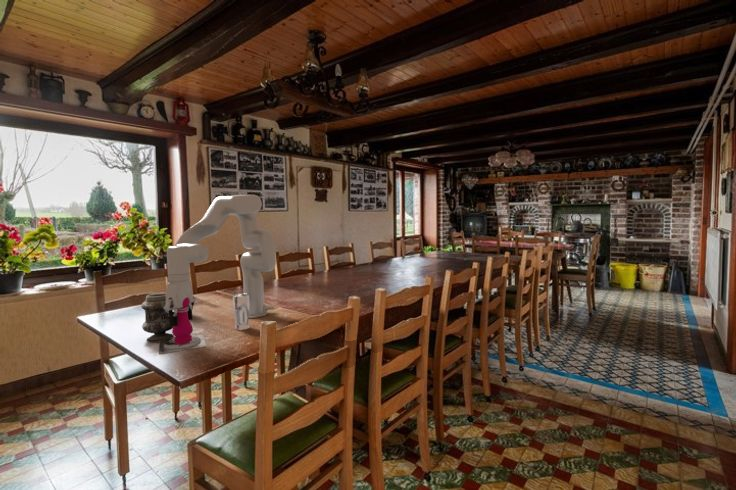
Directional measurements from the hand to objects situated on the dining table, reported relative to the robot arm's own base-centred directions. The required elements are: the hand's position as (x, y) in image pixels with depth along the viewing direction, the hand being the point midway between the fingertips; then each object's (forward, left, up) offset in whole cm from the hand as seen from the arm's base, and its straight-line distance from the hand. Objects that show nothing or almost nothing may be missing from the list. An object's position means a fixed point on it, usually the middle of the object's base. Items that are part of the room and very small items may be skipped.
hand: (181, 322), depth 151 cm
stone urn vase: (+8, -11, -9) cm, 16 cm away
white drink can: (-24, -10, -9) cm, 27 cm away
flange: (0, 0, -9) cm, 9 cm away
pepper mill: (0, 0, -8) cm, 8 cm away
